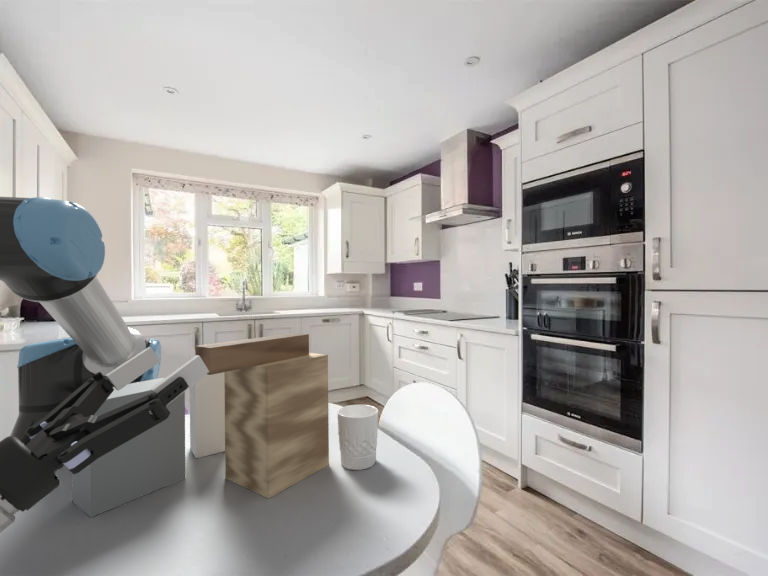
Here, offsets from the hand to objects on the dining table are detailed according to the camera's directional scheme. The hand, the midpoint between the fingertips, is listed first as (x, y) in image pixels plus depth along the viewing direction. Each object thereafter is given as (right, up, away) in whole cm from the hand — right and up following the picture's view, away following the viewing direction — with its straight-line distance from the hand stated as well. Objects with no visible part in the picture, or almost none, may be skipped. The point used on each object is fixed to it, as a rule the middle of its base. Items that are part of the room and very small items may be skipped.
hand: (177, 358), depth 54 cm
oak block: (+10, -24, +16) cm, 30 cm away
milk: (-8, -24, +26) cm, 36 cm away
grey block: (-13, -24, +10) cm, 29 cm away
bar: (+8, -3, +11) cm, 14 cm away
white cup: (+24, -24, +19) cm, 39 cm away
